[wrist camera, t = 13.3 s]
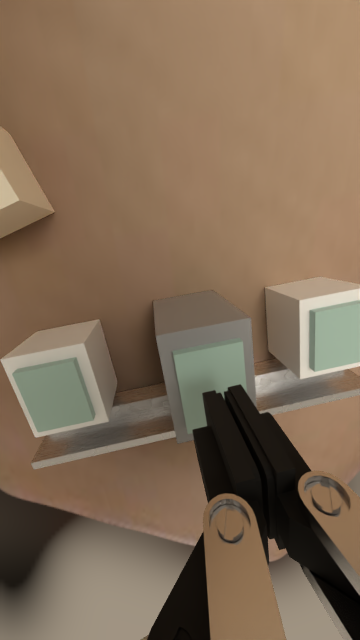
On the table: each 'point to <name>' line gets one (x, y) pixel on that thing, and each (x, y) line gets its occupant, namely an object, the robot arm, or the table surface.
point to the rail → (156, 419)
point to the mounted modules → (99, 376)
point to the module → (202, 354)
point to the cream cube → (18, 190)
